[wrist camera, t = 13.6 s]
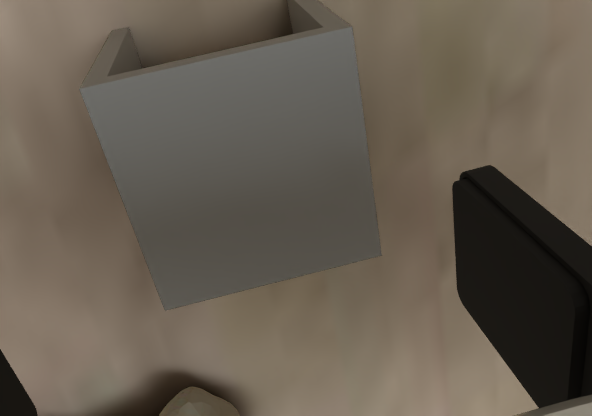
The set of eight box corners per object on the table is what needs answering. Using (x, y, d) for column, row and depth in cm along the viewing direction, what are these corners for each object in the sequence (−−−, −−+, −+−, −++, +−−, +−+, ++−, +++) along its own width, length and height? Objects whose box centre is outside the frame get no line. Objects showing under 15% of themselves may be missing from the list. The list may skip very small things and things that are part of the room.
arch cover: (301, -12, 20) (352, 26, 14) (331, 163, 24) (381, 255, 17) (112, 30, 20) (79, 88, 14) (170, 203, 23) (165, 310, 17)
